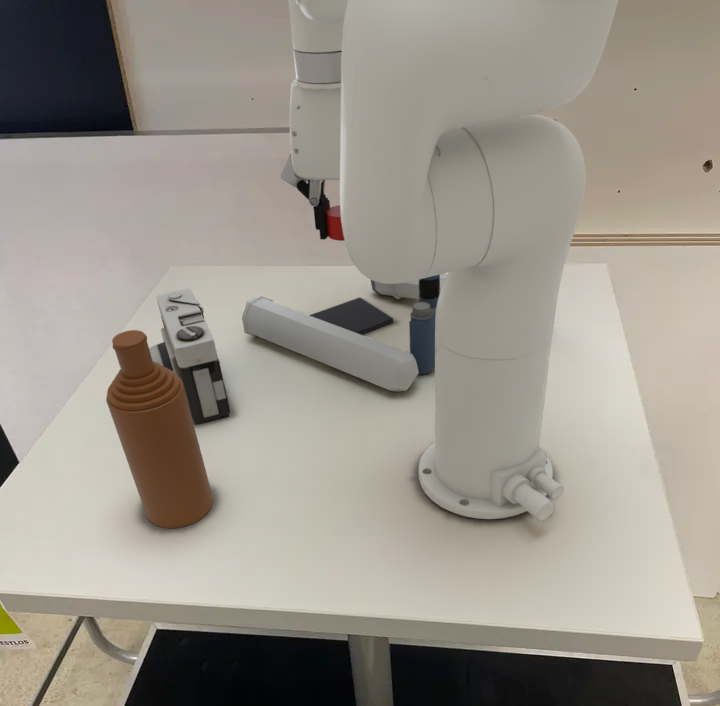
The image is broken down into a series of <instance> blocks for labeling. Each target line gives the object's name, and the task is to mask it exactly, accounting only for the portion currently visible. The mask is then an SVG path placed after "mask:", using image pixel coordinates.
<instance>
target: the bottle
mask: <svg viewBox="0 0 720 706" xmlns="http://www.w3.org/2000/svg"><path fill="white" fill-rule="evenodd" d="M111 342H112V349H113V350H114V352H115V354H116V358H117V362H118V364H119V368H120V369H119V371H118V372H117V374H116V376H115V377H114V379H113V380H112V381H111V384H110V385H109V386H108V388H107V391H106V400H105V401H106V404H107V406H108V410H109V412H110V415H111V418H112V422H113V424H114V427H115V430H116V433H117V435H118V439H119V442H120V444H121V447H122V450H123V452H124V456H125V459H126V462H127V464H128V466H129V467H128V468H129V470H130V473H131V476H132V479H133V482H134V484H135V487H136V490H137V493H138V496H139V498H140V501H141V504H142V507H143V511H144V513H145V516H146V518H147V520H148V521H149V522H150V523H152V524H153V525H155V526H157V527H160V528H165V529H178V528H183V527H186V526H190V525H193V524H194V523H196V522H198V521H199V520H201V519H203V518H204V517H205V516H206V515H207V514H208V513H209V511H210V510H211V508H212V506H213V503H214V497H213V492H212V489H211V485H210V481H209V477H208V473H207V470H206V466H205V463H204V458H203V455H202V451H201V446H200V444H199V443H200V442H199V438H198V437H197V436H198V435H197V431H196V428H195V425H194V424H195V423H194V422H193V419H192V416H191V412H190V408H189V405H188V401H187V397H186V393H185V389H184V386H183V382H182V380H181V379H180V378H179V377H178V375H177V374H176V373H175V372H173V371H171V370H169V369H168V368H166V367H163V366H162V365H160V364H157V363H156V362H154V361H153V360H152V357H151V353H150V350H149V348H150V347H149V344H148V336H147V335H146V333H145V332H143V331H141V330H138V329H130V330H125V331H122V332H120V333H118V334H116V335H115V336H114V337H113V338H112V340H111Z"/></svg>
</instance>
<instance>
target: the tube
mask: <svg viewBox="0 0 720 706" xmlns="http://www.w3.org/2000/svg"><path fill="white" fill-rule="evenodd" d="M241 321H242V327H243V332H244V334H246V335H250V336H253V337H255V338H261V339H264V340H266V341H268V342H271V343H274V344H275V345H279V346H281V347H283V348H286V349H287V350H290V351H293V352H295V353H298V354H300V355H303V356H304V357H307V358H310V359H312V360H316V361H317V362H320V363H322V364H324V365H327V366H329V367H332V368H335V369H337V370H339V371H341V372H344V373H347V374H348V375H351V376H354V377H356V378H359V379H361V380H364V381H366V382H367V383H368V382H369V383H371V384H373V385H375V386H378V387H380V388H383V389H384V390H385V389H386V390H387V391H392V392H395V393H398V392H399V393H400V392H406V391H408V390H409V388H410V387H411V386H412V384H413V383H414V381H415V379H416V378H417V376H418V375H419V374H418V373H419V371H418V367H417V362H416V360H415V358H414V356H413V354H412V353H410V351H407V350H404V349H401V348H398V347H395V346H393V345H390V344H387V343H385V342H383V341H379V340H377V339H374V338H372V337H368V336H366V335H363V334H358V333H355V332H352V331H350V330H347V329H344V328H342V327H339V326H336V325H333V324H331V323H328V322H325V321H323V320H320V319H317V318H314V317H312V316H310V315H308V314H306V313H303V312H300V311H298V310H294V309H292V308H290V307H288V306H285V305H282V304H279V303H277V302H274V300H273V299H270V298H268V297H265V296H263V295H260V294H259V295H256V296H255V297H253V298H252V299H249V300H247V301H246V304H245V307H244V310H243V313H242V316H241Z"/></svg>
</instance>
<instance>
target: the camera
mask: <svg viewBox="0 0 720 706" xmlns="http://www.w3.org/2000/svg"><path fill="white" fill-rule="evenodd" d="M155 299H156V302H157V305H158V309H159V313H160V317H161V322H162V325H163V328H160V333H161V336H162V342H160V343H157V344H155V345H152V346H150V347H149V350H150V353H151V357H152V360H153V361H154V362H156V363H157V364H160V365H162V366H163V367H166V368H168V369H169V370H171V371H173V372H175V373H176V374H177V375H178V377H179V378H180V379H181V380H182V382H183V386H184V389H185V393H186V397H187V401H188V405H189V408H190V412H191V416H192V420H193V424H195V425H199V424H204V423H207V422H211V421H215V420H220V419H222V418H223V419H224V418H226V417H229V416H230V415H229V413H231V409H230V405H229V399H228V394H227V390H226V386H225V382H224V377H223V373H222V368H221V363H220V359H219V357H218V353H217V348H216V342H215V339H214V337H213V335H212V333H211V330H210V327H209V326H208V323H207V321H206V320H205V316H204V312H205V311H204V306H202V305H201V303H200V302H199V300H197V299H196V297H195V295H194V292H193V291H192V289H191V287H187V288H183V289H178V290H175V291H174V290H173V291H169V292H164V293H160V294H157V295H156V297H155Z"/></svg>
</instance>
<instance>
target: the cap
mask: <svg viewBox="0 0 720 706" xmlns="http://www.w3.org/2000/svg"><path fill="white" fill-rule="evenodd" d="M326 220H327V232H328V237H327V238H329V239H330V240H334V241H338V242H339V241H340V242H341V241H342V242H343V241H344V242H345V240H344V236H343V229H342V223H341V213H340V204H338V205H333V206H330V208H329V209H328V210H327V211H326Z"/></svg>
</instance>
